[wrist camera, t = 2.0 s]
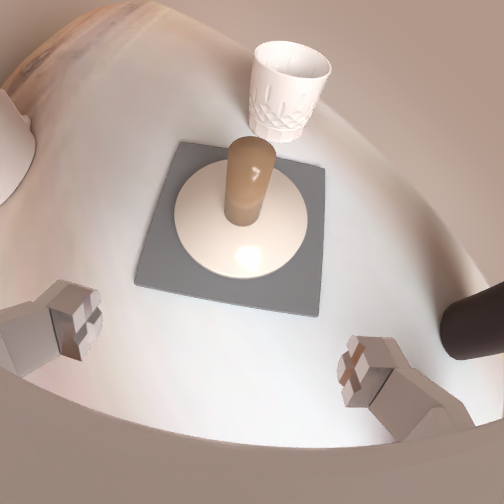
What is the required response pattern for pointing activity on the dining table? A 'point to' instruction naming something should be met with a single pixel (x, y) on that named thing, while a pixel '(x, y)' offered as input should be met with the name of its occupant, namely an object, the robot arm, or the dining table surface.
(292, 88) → the white cup
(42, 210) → the dining table surface
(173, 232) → the slate mat
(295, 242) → the lid
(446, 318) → the bottle
